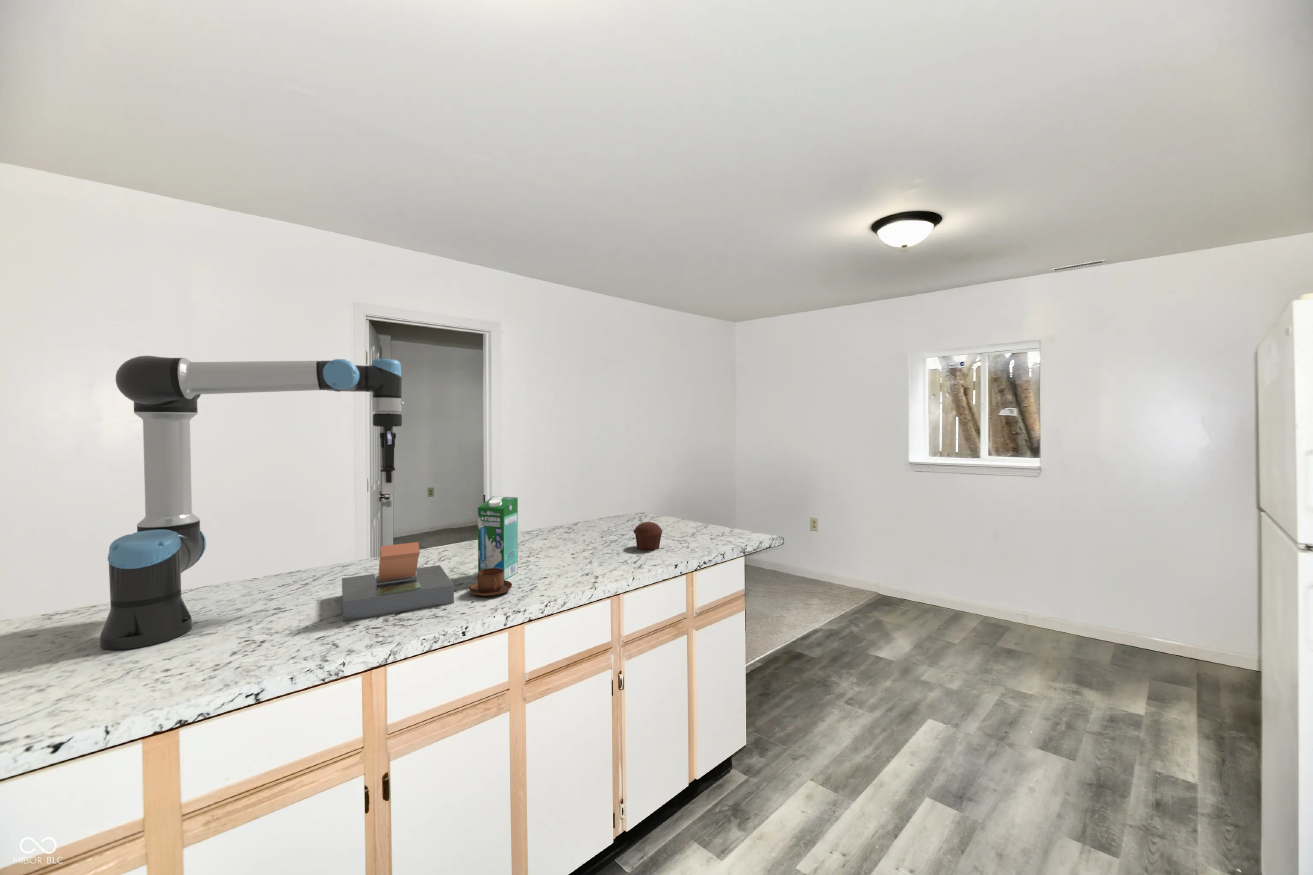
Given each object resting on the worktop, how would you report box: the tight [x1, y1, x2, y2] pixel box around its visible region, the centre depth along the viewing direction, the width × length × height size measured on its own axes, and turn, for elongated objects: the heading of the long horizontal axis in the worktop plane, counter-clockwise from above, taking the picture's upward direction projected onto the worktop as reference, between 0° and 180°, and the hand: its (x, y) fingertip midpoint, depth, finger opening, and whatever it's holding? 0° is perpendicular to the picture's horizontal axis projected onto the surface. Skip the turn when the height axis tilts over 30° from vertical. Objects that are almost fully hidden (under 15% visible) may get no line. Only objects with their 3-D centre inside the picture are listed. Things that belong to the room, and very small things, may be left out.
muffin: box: [632, 521, 663, 552], centre depth 205 cm, size 12×11×10 cm
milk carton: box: [477, 495, 519, 581], centre depth 167 cm, size 9×9×25 cm
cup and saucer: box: [468, 568, 513, 597], centre depth 152 cm, size 12×12×6 cm
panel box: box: [341, 564, 455, 623], centre depth 145 cm, size 22×26×5 cm
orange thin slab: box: [376, 541, 421, 584], centre depth 141 cm, size 3×10×15 cm
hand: (388, 493), depth 152 cm, fingers closed
